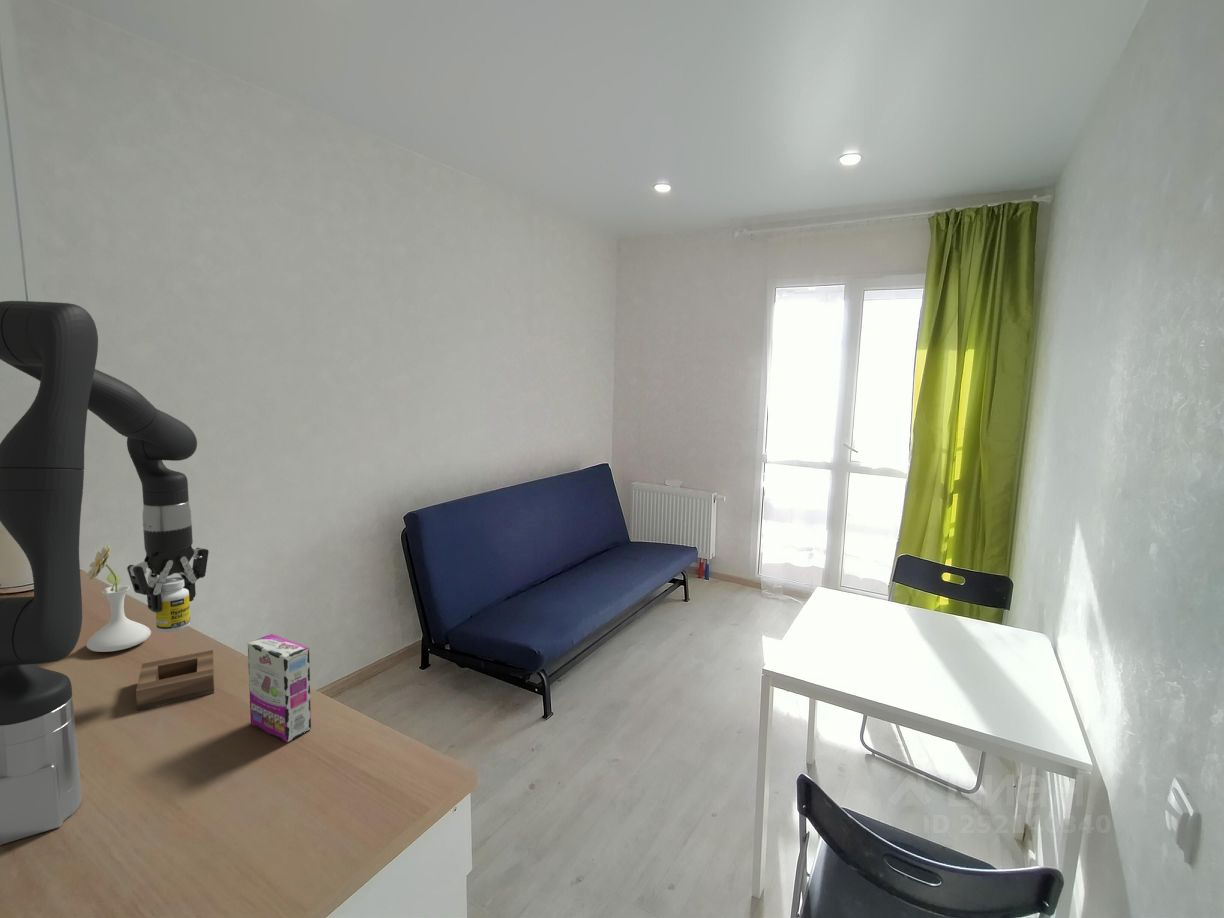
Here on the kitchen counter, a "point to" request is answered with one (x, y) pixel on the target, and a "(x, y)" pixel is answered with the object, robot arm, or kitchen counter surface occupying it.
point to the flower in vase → (114, 613)
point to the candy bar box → (279, 687)
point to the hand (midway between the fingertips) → (172, 605)
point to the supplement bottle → (173, 606)
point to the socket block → (175, 679)
